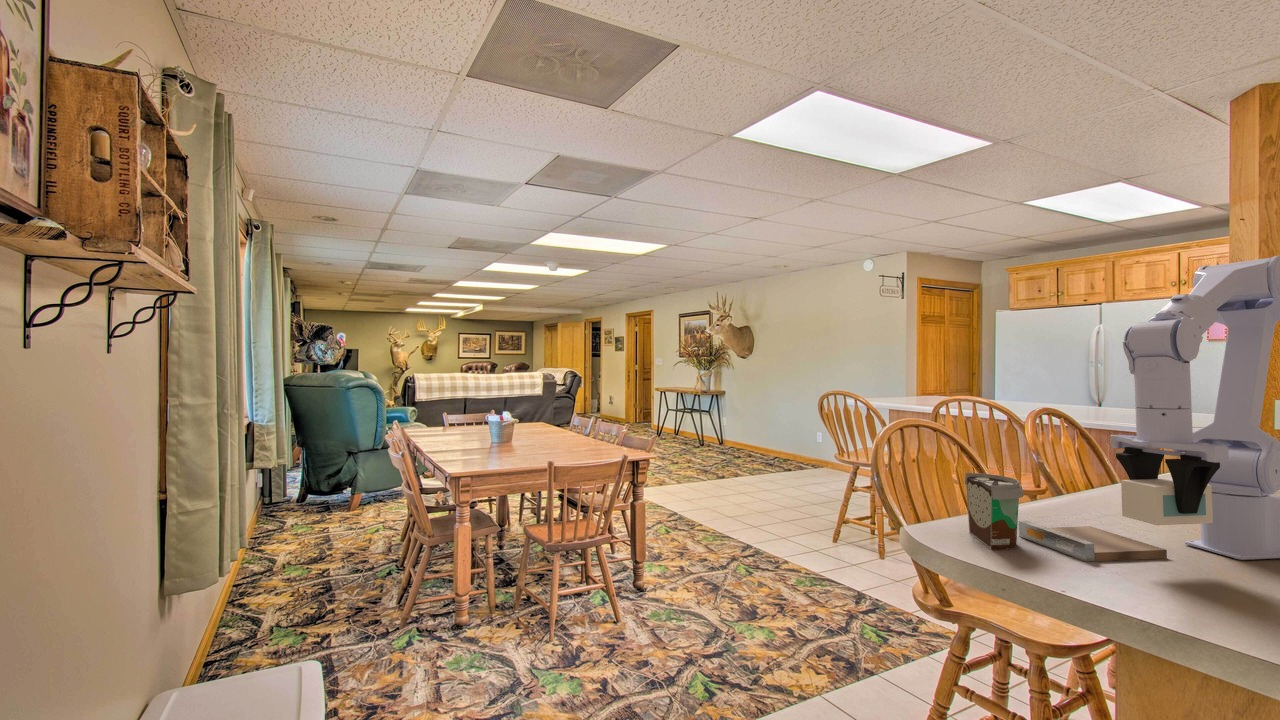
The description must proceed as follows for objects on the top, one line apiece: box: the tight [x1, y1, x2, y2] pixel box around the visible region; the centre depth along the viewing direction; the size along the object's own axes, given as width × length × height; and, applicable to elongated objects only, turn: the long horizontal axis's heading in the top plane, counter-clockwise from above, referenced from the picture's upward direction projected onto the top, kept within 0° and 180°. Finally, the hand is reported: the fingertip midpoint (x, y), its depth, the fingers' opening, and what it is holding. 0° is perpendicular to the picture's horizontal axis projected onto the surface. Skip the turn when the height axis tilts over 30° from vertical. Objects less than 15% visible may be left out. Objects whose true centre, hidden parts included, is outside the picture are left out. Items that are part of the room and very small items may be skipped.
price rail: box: [1018, 520, 1096, 563], centre depth 89 cm, size 2×13×2 cm, turn 5°
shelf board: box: [1049, 525, 1168, 562], centre depth 89 cm, size 11×13×1 cm
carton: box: [1120, 478, 1213, 526], centre depth 79 cm, size 8×5×5 cm, turn 94°
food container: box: [964, 472, 1025, 551], centre depth 93 cm, size 12×6×10 cm, turn 168°
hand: (1166, 508), depth 79 cm, fingers closed on carton, 5 cm apart
